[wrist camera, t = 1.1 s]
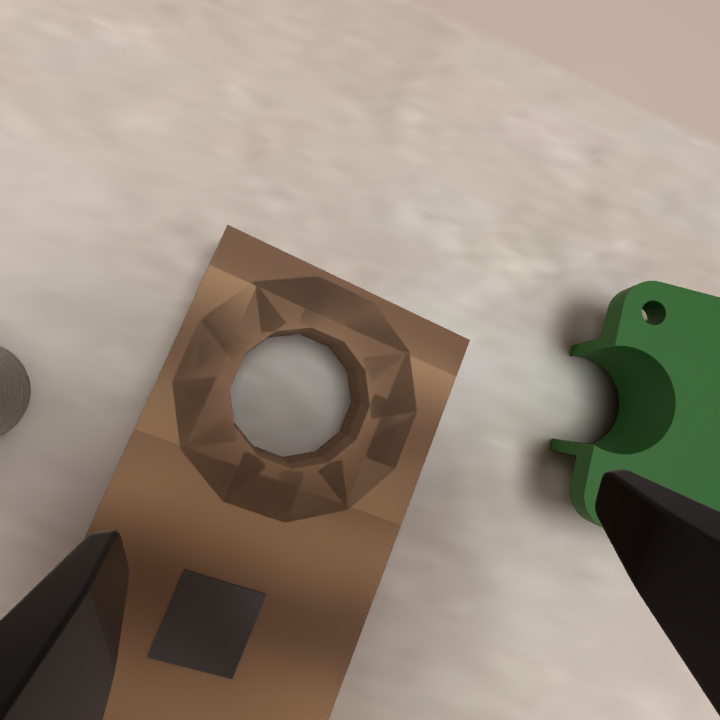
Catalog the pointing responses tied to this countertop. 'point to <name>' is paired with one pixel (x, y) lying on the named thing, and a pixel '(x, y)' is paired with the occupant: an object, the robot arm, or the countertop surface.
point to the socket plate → (265, 498)
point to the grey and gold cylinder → (12, 390)
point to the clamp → (656, 395)
